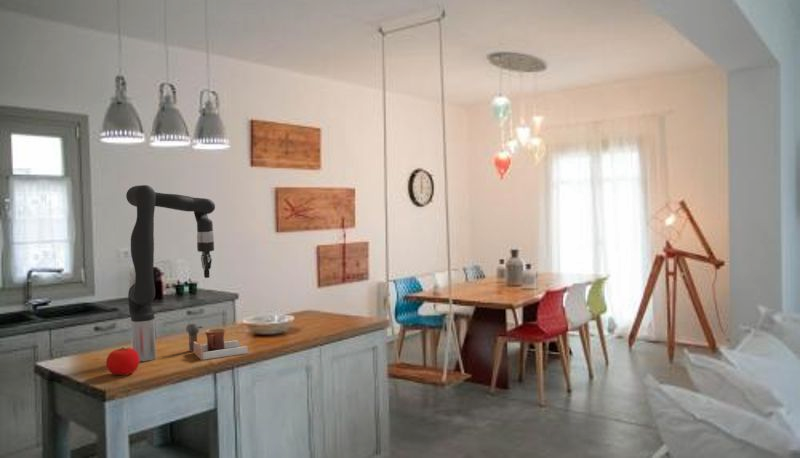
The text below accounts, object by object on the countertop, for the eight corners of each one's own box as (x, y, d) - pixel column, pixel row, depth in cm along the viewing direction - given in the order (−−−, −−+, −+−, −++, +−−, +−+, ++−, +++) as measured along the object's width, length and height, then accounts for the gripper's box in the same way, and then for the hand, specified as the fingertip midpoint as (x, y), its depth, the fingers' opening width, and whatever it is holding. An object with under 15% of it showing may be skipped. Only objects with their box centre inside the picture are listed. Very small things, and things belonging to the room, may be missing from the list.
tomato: (145, 369, 240) (144, 344, 240) (129, 378, 228) (128, 351, 228) (118, 370, 241) (117, 344, 240) (101, 378, 229) (99, 351, 228)
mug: (209, 351, 269) (208, 328, 269) (228, 350, 269) (227, 328, 269) (201, 358, 257) (200, 334, 257) (221, 357, 257) (220, 333, 257)
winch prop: (188, 352, 268) (187, 325, 267) (186, 350, 272) (185, 323, 271) (204, 350, 271) (203, 323, 271) (202, 348, 275) (201, 321, 275)
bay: (201, 360, 254) (200, 348, 253) (193, 352, 267) (193, 341, 267) (247, 353, 264) (247, 342, 263) (238, 346, 277) (238, 335, 277)
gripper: (194, 241, 285) (195, 277, 286) (200, 242, 273) (201, 279, 274) (210, 240, 289) (211, 275, 289) (216, 241, 277) (218, 278, 278)
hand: (206, 277), depth 282 cm, fingers closed
